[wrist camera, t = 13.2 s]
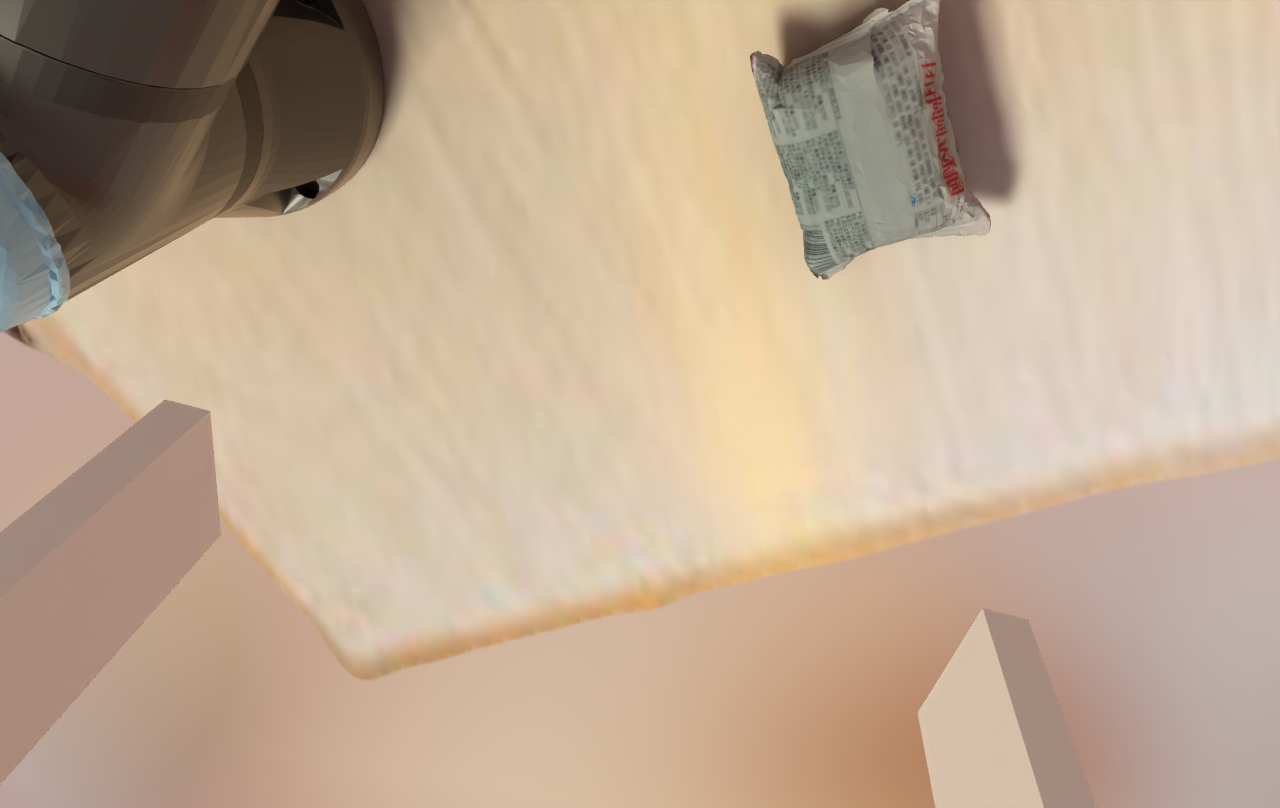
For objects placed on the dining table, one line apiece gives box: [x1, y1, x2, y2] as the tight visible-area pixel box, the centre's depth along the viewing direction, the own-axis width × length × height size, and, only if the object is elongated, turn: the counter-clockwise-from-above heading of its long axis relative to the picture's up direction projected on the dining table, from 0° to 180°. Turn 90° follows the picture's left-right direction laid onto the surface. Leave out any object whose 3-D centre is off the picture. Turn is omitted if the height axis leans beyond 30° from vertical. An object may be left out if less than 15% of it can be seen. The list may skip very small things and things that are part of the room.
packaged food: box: [750, 0, 991, 279], centre depth 38 cm, size 9×12×5 cm
